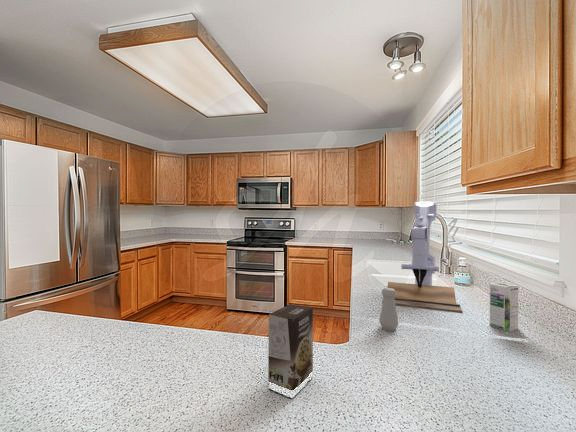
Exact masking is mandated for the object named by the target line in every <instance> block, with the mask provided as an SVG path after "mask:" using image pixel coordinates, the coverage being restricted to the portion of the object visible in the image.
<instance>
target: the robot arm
mask: <svg viewBox="0 0 576 432" xmlns="http://www.w3.org/2000/svg"><path fill="white" fill-rule="evenodd" d="M413 212H414V218H415V219H414V224H413V227H412V228H411V230H410V238H411V245H412V249H411V250H412V260H411V263H410V264H409V263H401V267H400V268H401V270H412V273H413V275H414V280H415V281H414V284H418V287H419V288H422V285H430V286H433V275H434V274H435V273H436V272H438V273H439V272H440V266H437V265H436V258H435V256H433V255H432V253H430V240H431V239H430V237H431V224H432V222H433V221H436V218H437V212H438V211H437V202H436V201H415V202H414V203H413Z"/></svg>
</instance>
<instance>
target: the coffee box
mask: <svg viewBox="0 0 576 432" xmlns="http://www.w3.org/2000/svg"><path fill="white" fill-rule="evenodd" d="M313 310H314V308H313V307H311V306H305V305H299V304H293V303H289V304H287V305H285V306H283V307H281V308H278V309H276V310H275V311H273V312H271V313H268V348H267V349H268V350H267V351H268V352H267V353H268V365H267V377H268V379H267V381H269V382H271V383H274V384H276V385H278V386H281V387H284V388H287V389H289V390H294V389H295V388H296V387H298V386H299V385H300V384H301V383H302V382H303V381H304V380H305V379H306V378H307V377H308V376H309V374H310V373H311V372H312V371H313V372H314V368H313V367H314V363H313V362H314V360H313V359H314V356H313V355H314V345H313V343H314V342H313V341H314V339H313V337H314V334H313V333H314V329H313V328H314V313H313V312H314V311H313Z"/></svg>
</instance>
